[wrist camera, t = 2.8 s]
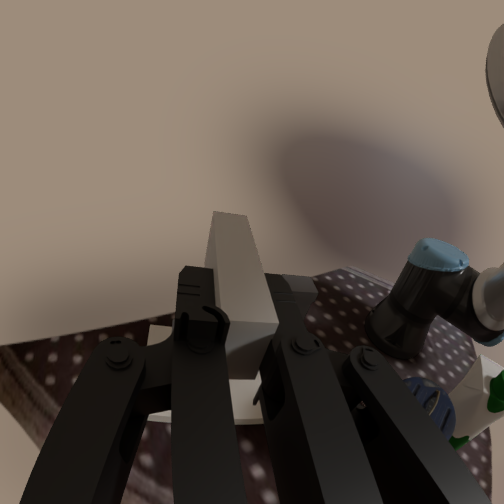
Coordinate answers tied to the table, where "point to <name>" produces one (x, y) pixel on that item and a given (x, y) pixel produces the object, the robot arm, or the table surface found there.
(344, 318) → the table surface
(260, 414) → the switch board
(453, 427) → the canister
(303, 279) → the switch
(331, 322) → the table surface
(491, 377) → the milk carton
